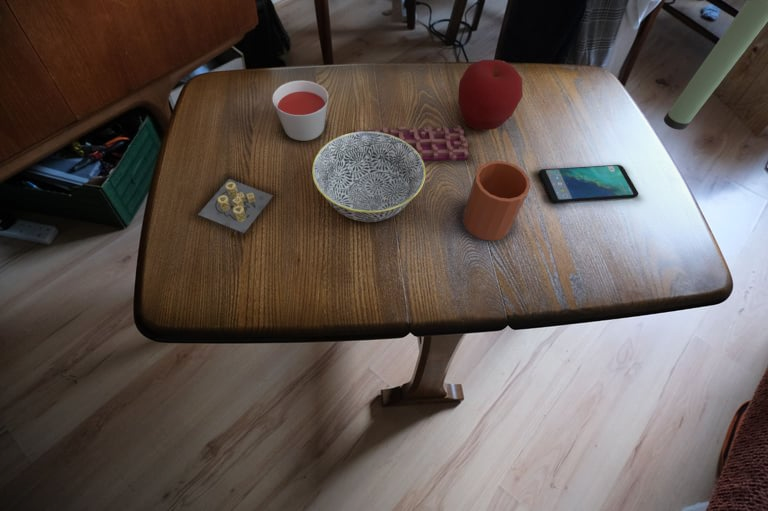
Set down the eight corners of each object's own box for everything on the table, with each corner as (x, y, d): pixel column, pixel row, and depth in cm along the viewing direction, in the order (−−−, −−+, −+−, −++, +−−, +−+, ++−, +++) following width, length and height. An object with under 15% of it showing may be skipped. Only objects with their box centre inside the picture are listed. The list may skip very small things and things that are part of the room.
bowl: (349, 153, 74) (349, 116, 68) (435, 189, 71) (443, 154, 65) (295, 217, 66) (289, 182, 60) (389, 261, 63) (393, 229, 56)
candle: (271, 119, 78) (265, 88, 73) (318, 106, 81) (316, 75, 75) (288, 152, 74) (283, 121, 68) (338, 137, 76) (337, 106, 71)
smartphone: (538, 168, 73) (622, 163, 75) (536, 172, 74) (620, 167, 76) (552, 201, 69) (640, 195, 71) (550, 204, 70) (638, 198, 72)
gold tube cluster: (242, 223, 65) (239, 214, 64) (213, 211, 66) (209, 203, 64) (261, 199, 68) (259, 191, 66) (232, 188, 69) (229, 180, 67)
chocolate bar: (470, 160, 75) (473, 151, 73) (358, 163, 73) (359, 154, 71) (462, 131, 79) (464, 122, 77) (356, 134, 77) (356, 125, 75)
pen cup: (520, 224, 68) (541, 183, 60) (488, 249, 65) (505, 209, 57) (485, 195, 71) (500, 153, 63) (452, 218, 68) (464, 176, 60)
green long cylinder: (668, 129, 56) (807, -61, 39) (660, 114, 58) (790, -74, 40) (690, 130, 56) (839, -59, 39) (681, 115, 58) (821, -73, 41)
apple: (480, 152, 76) (497, 94, 66) (438, 119, 80) (449, 59, 71) (522, 128, 80) (545, 69, 70) (480, 97, 85) (496, 38, 75)
